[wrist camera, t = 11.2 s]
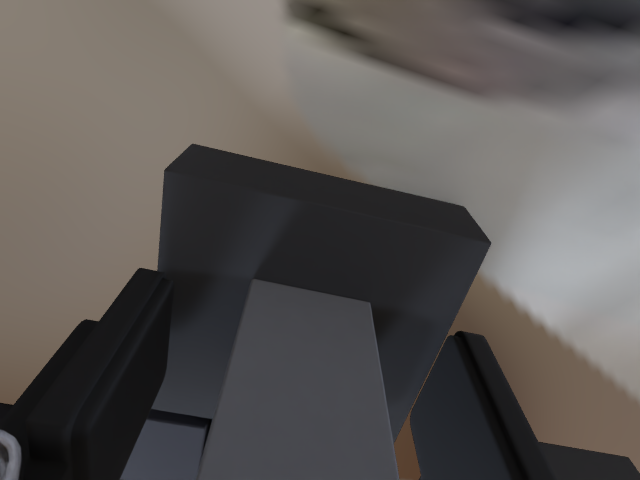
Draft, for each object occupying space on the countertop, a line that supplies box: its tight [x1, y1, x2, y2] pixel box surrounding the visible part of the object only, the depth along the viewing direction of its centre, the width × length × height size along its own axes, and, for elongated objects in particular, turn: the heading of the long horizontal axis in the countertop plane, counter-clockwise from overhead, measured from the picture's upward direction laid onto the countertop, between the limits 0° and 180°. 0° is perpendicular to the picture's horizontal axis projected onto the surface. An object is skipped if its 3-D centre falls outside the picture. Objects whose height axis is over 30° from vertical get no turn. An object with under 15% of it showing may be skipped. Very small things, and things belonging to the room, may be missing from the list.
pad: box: [151, 144, 491, 480], centre depth 9 cm, size 10×7×7 cm
